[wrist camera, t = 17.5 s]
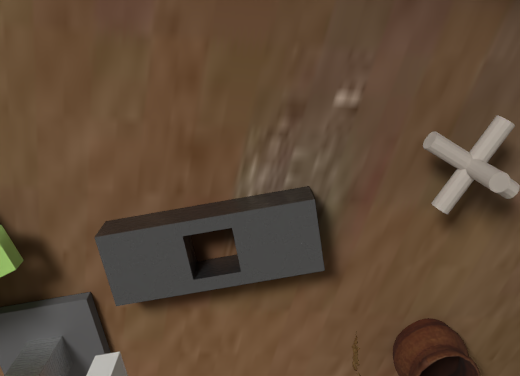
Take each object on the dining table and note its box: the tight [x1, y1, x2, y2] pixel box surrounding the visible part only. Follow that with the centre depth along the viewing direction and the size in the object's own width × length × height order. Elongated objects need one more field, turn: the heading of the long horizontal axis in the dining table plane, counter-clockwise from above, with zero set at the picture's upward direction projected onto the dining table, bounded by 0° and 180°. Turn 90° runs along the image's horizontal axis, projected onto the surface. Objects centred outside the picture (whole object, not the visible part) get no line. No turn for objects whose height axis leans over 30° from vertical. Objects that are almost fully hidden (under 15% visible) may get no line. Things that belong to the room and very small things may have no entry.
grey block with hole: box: [95, 186, 325, 306], centre depth 49 cm, size 8×22×4 cm, turn 100°
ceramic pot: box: [352, 318, 480, 376], centre depth 54 cm, size 18×18×7 cm
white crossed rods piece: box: [423, 115, 519, 214], centre depth 44 cm, size 10×10×10 cm
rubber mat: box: [0, 292, 111, 376], centre depth 54 cm, size 12×12×2 cm
